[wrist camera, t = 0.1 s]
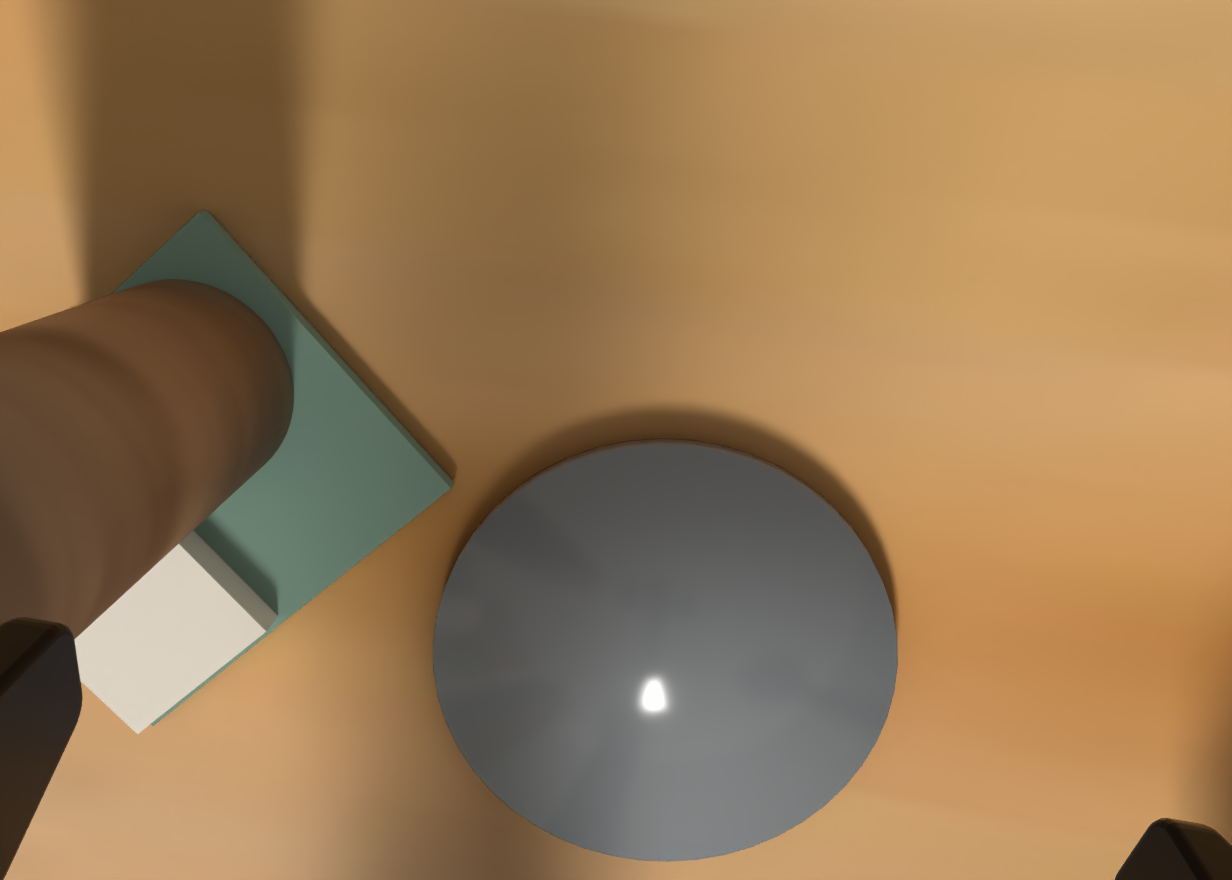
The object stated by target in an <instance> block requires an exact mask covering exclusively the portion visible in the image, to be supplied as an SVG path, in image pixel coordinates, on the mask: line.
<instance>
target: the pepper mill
mask: <svg viewBox="0 0 1232 880" xmlns="http://www.w3.org/2000/svg"><path fill="white" fill-rule="evenodd" d="M293 406H294V388H293V380H292V375H291V370H290V367H289V364H288V361H287V358H286V356H285V353H284V351H283V349H282V347H281V345H280V343H279V342H278V340H277V338H276V337H275V335H274V334H273V332H272V331H271V329H270V328H269V327H268V326H267V325H266V323H265V322H264V321H263V320H262V319H261V318H260V317H259V316H258V315H257V314H256V313H255V312H254V311H253V310H252V309H251V308H249V307H248V306H247V305H246V304H244V303H243V302H242V301H240V300H239V299H237V298H235V297H234V296H232V295H230V294H229V293H227V292H225V291H222V290H220V289H218V288H216V287H213V286H210V285H207V284H203V283H200V282H195V281H189V280H179V279H167V280H156V281H152V282H148V283H144V284H140V285H137V286H134V287H132V288H129V289H126V290H123V291H120V292H117V293H114V294H111V295H108V296H105V297H102V298H99V299H96V300H94V301H91V302H88V303H85V304H82V305H79V306H76V307H73V308H70V309H67V310H64V311H61V312H58V313H56V314H53V315H50V316H47V317H44V318H41V319H38V320H35V321H32V322H29V323H26V324H23V325H21V326H18V327H15V328H12V329H9V330H6V331H3V332H0V624H2V623H4V622H6V621H8V620H10V619H13V618H17V617H28V618H34V619H39V620H45V621H51V622H56V623H62V624H64V625H66V626H68V627H69V629H70V630H71V631H72V633H73V636H74V640H75V639H76V638H77V637H78V636H79V635H80V634H81V633H82V632H83V631H84V630H85V629H86V628H88V627H89V626H90V625H91V624H92V623H93V622H94V621H95V620H96V619H97V618H98V617H100V616H101V615H102V614H103V613H104V612H105V611H106V610H107V609H108V608H109V607H110V606H111V605H113V604H114V603H115V602H116V601H117V600H118V599H119V598H120V597H121V596H122V595H123V594H125V593H126V592H127V591H128V590H129V589H130V588H131V587H132V586H133V585H134V584H135V583H136V582H138V581H139V580H140V579H141V578H142V577H143V576H144V575H145V574H146V573H147V572H148V571H150V570H151V569H152V568H153V567H154V566H155V565H156V564H157V563H158V562H159V561H160V560H161V559H163V558H164V557H165V556H166V555H167V554H168V553H169V552H170V551H171V550H172V549H173V548H175V547H176V546H177V545H178V544H179V543H180V542H181V541H182V540H183V539H184V538H185V537H186V536H188V535H189V534H190V533H191V532H192V531H193V530H194V529H195V528H196V527H197V526H198V525H200V524H201V523H202V522H203V521H204V520H205V519H206V518H207V517H208V516H209V515H210V514H211V513H213V512H214V511H215V510H216V509H217V508H218V507H219V506H220V505H221V504H222V503H223V502H225V501H226V500H227V499H228V498H229V497H230V496H231V495H232V494H233V493H234V492H235V491H236V490H238V489H239V488H240V487H241V486H242V485H243V484H244V483H245V482H246V481H247V480H248V479H250V478H251V477H252V476H253V475H254V474H255V473H256V472H257V471H258V470H259V469H260V468H261V467H263V466H264V465H265V464H266V463H267V462H268V461H269V460H270V459H271V458H272V457H273V455H274V454H275V453H276V451H277V450H278V449H279V447H280V446H281V444H282V442H283V440H284V438H285V437H286V434H287V431H288V429H289V426H290V423H291V418H292V414H293Z"/></svg>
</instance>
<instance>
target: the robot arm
mask: <svg viewBox="0 0 1232 880" xmlns="http://www.w3.org/2000/svg"><path fill="white" fill-rule="evenodd" d="M81 707H82V688H81V681H80V675H79V668H78V661H77V654H76V647H75V640H74V636H73V633H72V631H71V630H70V629H69V627H68V626H66V625H64V624H62V623H56V622H51V621H45V620H39V619H34V618H28V617H17V618H13V619H10V620H8V621H6V622H4V623H2V624H0V880H4V878H5V876H6V874H7V872H8V870H9V867H10V865H11V863H12V861H13V859H14V857H15V855H16V852H17V850H18V848H19V846H20V844H21V842H22V840H23V838H24V835H25V833H26V831H27V829H28V827H29V825H30V823H31V820H32V818H33V816H34V814H35V812H36V810H37V808H38V806H39V803H40V801H41V799H42V797H43V795H44V793H45V791H46V788H47V786H48V784H49V782H50V780H51V778H52V776H53V774H54V771H55V769H56V767H57V765H58V763H59V761H60V759H61V756H62V754H63V752H64V750H65V748H66V746H67V744H68V742H69V739H70V737H71V735H72V733H73V731H74V729H75V726H76V724H77V722H78V718H79V715H80V711H81ZM1115 880H1232V846H1231V845H1230V844H1229V843H1228V842H1227V841H1226V840H1225V839H1224V838H1223V837H1222V836H1221V835H1220V834H1219V833H1218V832H1217V831H1215V830H1214V829H1212V828H1211V827H1208V826H1206V825H1203V824H1198V823H1193V822H1187V821H1181V820H1175V819H1170V818H1161V819H1159V820H1157V821H1155V822H1153V823H1152V824H1151V825H1150V826H1149V827H1148V829H1147V830H1146V832H1145V833H1144V835H1143V836H1142V838H1141V839H1140V841H1139V842H1138V843H1137V845H1136V846H1135V848H1134V849H1133V851H1132V852H1131V854H1130V855H1129V857H1128V858H1127V860H1126V861H1125V863H1124V864H1123V866H1122V867H1121V869H1120V870H1119V872H1118V873H1117V875H1116V878H1115Z"/></svg>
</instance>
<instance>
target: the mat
mask: <svg viewBox="0 0 1232 880" xmlns="http://www.w3.org/2000/svg"><path fill="white" fill-rule="evenodd" d="M167 279H179V280H189V281H195V282H200V283H203V284H207V285H210V286H213V287H216V288H218V289H220V290H222V291H225V292H227V293H229V294H230V295H232V296H234V297H235V298H237V299H239V300H240V301H242V302H243V303H244V304H246V305H247V306H248V307H249V308H251V309H252V310H253V311H254V312H255V313H256V314H257V315H258V316H259V317H260V318H261V319H262V320H263V321H264V322H265V323H266V325H267V326H268V327H269V328H270V329H271V331H272V332H273V334H274V335H275V337H276V338H277V340H278V342H279V343H280V345H281V347H282V349H283V351H284V353H285V356H286V358H287V361H288V364H289V367H290V370H291V375H292V380H293V388H294V406H293V414H292V418H291V423H290V426H289V429H288V431H287V434H286V437H285V438H284V440H283V442H282V444H281V446H280V447H279V449H278V450H277V451H276V453H275V454H274V455H273V457H272V458H271V459H270V460H269V461H268V462H267V463H266V464H265V465H264V466H263V467H261V468H260V469H259V470H258V471H257V472H256V473H255V474H254V475H253V476H252V477H251V478H250V479H248V480H247V481H246V482H245V483H244V484H243V485H242V486H241V487H240V488H239V489H238V490H236V491H235V492H234V493H233V494H232V495H231V496H230V497H229V498H228V499H227V500H226V501H225V502H223V503H222V504H221V505H220V506H219V507H218V508H217V509H216V510H215V511H214V512H213V513H211V514H210V515H209V516H208V517H207V518H206V519H205V520H204V521H203V522H202V523H201V524H200V525H198V526H197V527H196V528H195V529H194V530H193V531H192V532H191V533H190V534H189V535H188V536H186V537H185V538H184V539H183V540H182V541H181V542H180V543H179V544H178V545H177V546H176V547H175V548H173V549H172V550H171V551H170V552H169V553H168V554H167V555H166V556H165V557H164V558H163V559H161V560H160V561H159V562H158V563H157V564H156V565H155V566H154V567H153V568H152V569H151V570H150V571H148V572H147V573H146V574H145V575H144V576H143V577H142V578H141V579H140V580H139V581H138V582H136V583H135V584H134V585H133V586H132V587H131V588H130V589H129V590H128V591H127V592H126V593H125V594H123V595H122V596H121V597H120V598H119V599H118V600H117V601H116V602H115V603H114V604H113V605H111V606H110V607H109V608H108V609H107V610H106V611H105V612H104V613H103V614H102V615H101V616H100V617H98V618H97V619H96V620H95V621H94V622H93V623H92V624H91V625H90V626H89V627H88V628H86V629H85V630H84V631H83V632H82V633H81V634H80V635H79V636H78V637H77V638H76V639H75V647H76V654H77V661H78V668H79V675H80V681H81V682H82V683H84V684H85V685H86V686H87V687H88V688H89V689H90V690H91V691H92V692H93V693H94V694H95V695H96V696H97V697H98V698H100V699H101V700H102V701H103V702H104V703H105V704H106V705H107V706H108V707H109V708H110V709H111V710H112V711H113V712H114V713H115V714H117V715H118V716H119V717H120V718H121V719H122V720H123V721H124V722H125V723H126V724H127V725H128V726H129V727H130V728H131V729H133V730H134V731H135V732H136V733H137V734H139V733H140V732H141V731H142V730H144V729H145V728H146V727H147V726H149V725H150V724H151V725H152V726H154V725H155V724H156V723H157V722H159V721H160V720H161V719H162V718H164V717H165V716H166V715H167V714H169V713H170V712H171V711H172V710H174V709H175V708H176V707H177V706H179V705H180V704H181V703H182V702H184V701H185V700H186V699H187V698H189V697H190V696H191V695H192V694H194V693H195V692H196V691H198V690H199V689H200V688H201V687H203V686H204V685H205V684H206V683H208V682H209V681H210V680H211V679H213V678H214V677H215V676H216V675H218V674H219V673H220V672H221V671H223V670H224V669H225V668H226V667H228V666H229V665H230V664H231V663H233V662H234V661H235V660H236V659H238V658H239V657H240V656H241V655H243V654H244V653H245V652H246V651H248V650H249V649H250V648H251V647H253V646H254V645H255V644H257V643H258V642H259V641H260V640H262V639H263V638H264V637H265V636H267V635H268V634H269V633H270V632H272V631H273V630H274V629H275V628H277V627H278V626H279V625H280V624H282V623H283V622H284V621H285V620H287V619H288V618H289V617H290V616H292V615H293V614H294V613H295V612H297V611H298V610H299V609H300V608H302V607H303V606H304V605H305V604H307V603H308V602H309V601H310V600H312V599H313V598H314V597H316V596H317V595H318V594H319V593H321V592H322V591H323V590H324V589H326V588H327V587H328V586H329V585H331V584H332V583H333V582H334V581H336V580H337V579H338V578H339V577H341V576H342V575H343V574H344V573H346V572H347V571H348V570H349V569H351V568H352V567H353V566H354V565H356V564H357V563H358V562H359V561H361V560H362V559H363V558H364V557H366V556H367V555H368V554H369V553H371V552H372V551H373V550H374V549H376V548H377V547H378V546H380V545H381V544H382V543H383V542H385V541H386V540H387V539H388V538H390V537H391V536H392V535H393V534H395V533H396V532H397V531H398V530H400V529H401V528H402V527H403V526H405V525H406V524H407V523H408V522H410V521H411V520H412V519H413V518H415V517H416V516H417V515H418V514H420V513H421V512H422V511H423V510H425V509H426V508H427V507H428V506H430V505H431V504H432V503H433V502H435V501H436V500H437V499H439V498H440V497H441V496H442V495H444V494H445V493H446V492H447V491H449V490H450V489H451V488H452V486H453V484H454V482H453V481H452V480H451V479H450V477H449V476H448V475H447V474H446V473H445V472H444V471H443V470H442V469H441V468H440V466H439V465H438V464H437V463H436V462H435V461H434V460H433V459H432V458H431V456H430V455H429V454H428V453H427V452H426V451H425V450H424V449H423V448H422V447H421V445H420V444H419V443H418V442H417V441H416V440H415V439H414V438H413V437H412V436H411V434H410V433H409V432H408V431H407V430H406V429H405V428H404V427H403V426H402V425H401V423H400V422H399V421H398V420H397V419H396V418H395V417H394V416H393V415H392V413H391V412H390V411H389V410H388V409H387V408H386V407H385V406H384V405H383V404H382V402H381V401H380V400H379V399H378V398H377V397H376V396H375V395H374V394H373V393H372V391H371V390H370V389H369V388H368V387H367V386H366V385H365V384H364V383H363V382H362V380H361V379H360V378H359V377H358V376H357V375H356V374H355V373H354V372H353V370H352V369H351V368H350V367H349V366H348V365H347V364H346V363H345V362H344V361H343V359H342V358H341V357H340V356H339V355H338V354H337V353H336V352H335V351H334V350H333V348H332V347H331V346H330V345H329V344H328V343H327V342H326V341H325V340H324V339H323V337H322V336H321V335H320V334H319V333H318V332H317V331H316V330H315V329H314V327H313V326H312V325H311V324H310V323H309V322H308V321H307V320H306V319H305V318H304V316H303V315H302V314H301V313H300V312H299V311H298V310H297V309H296V308H295V307H294V305H293V304H292V303H291V302H290V301H289V300H288V299H287V298H286V297H285V296H284V294H283V293H282V292H281V291H280V290H279V289H278V288H277V287H276V286H275V284H274V283H273V282H272V281H271V280H270V279H269V278H268V277H267V276H266V275H265V273H264V272H263V271H262V270H261V269H260V268H259V267H258V266H257V265H256V264H255V262H254V261H253V260H252V259H251V258H250V257H249V256H248V255H247V254H246V253H245V251H244V250H243V249H242V248H241V247H240V246H239V245H238V244H237V243H236V241H235V240H234V239H233V238H232V237H231V236H230V235H229V234H228V233H227V232H226V230H225V229H224V228H223V227H222V226H221V225H220V224H219V223H218V222H217V221H216V219H215V218H214V217H213V216H212V215H211V214H210V213H209V212H208V211H207V210H204V211H200V212H198V213H197V214H196V215H195V216H194V217H193V218H192V219H191V220H190V221H189V222H188V223H187V224H185V225H184V226H183V227H182V228H181V229H180V230H179V231H178V232H177V233H176V234H175V235H174V236H173V237H172V238H170V239H169V240H168V241H167V242H166V243H165V244H164V245H163V246H162V247H161V248H160V249H159V250H158V251H157V252H156V253H154V254H153V255H152V256H151V257H150V258H149V259H148V260H147V261H146V262H145V263H144V264H143V265H142V266H141V267H139V268H138V269H137V270H136V271H135V272H134V273H133V274H132V275H131V276H130V277H129V278H128V279H127V280H126V281H125V282H123V283H122V284H121V285H120V286H119V287H118V288H117V289H116V290H115V291H114V292H113V293H112V294H114V293H117V292H120V291H123V290H126V289H129V288H132V287H134V286H137V285H140V284H144V283H148V282H152V281H156V280H167Z"/></svg>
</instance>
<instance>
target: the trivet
mask: <svg viewBox="0 0 1232 880" xmlns="http://www.w3.org/2000/svg"><path fill="white" fill-rule="evenodd" d="M897 666H898V657H897V634H896V628H895V622H894V616H893V611H892V607H891V604H890V601H889V598H888V595H887V592H886V589H885V586H884V583H883V581H882V579H881V577H880V575H879V573H878V571H877V569H876V567H875V565H874V563H873V561H872V559H871V557H870V555H869V553H868V551H867V549H866V547H865V545H864V544H863V543H862V541H861V540H860V538H859V537H858V535H857V534H856V533H855V531H854V530H853V528H852V527H851V525H850V524H849V523H848V522H847V521H846V520H845V518H844V517H843V516H842V515H841V514H840V513H839V512H838V511H837V510H836V509H835V508H834V507H833V506H832V504H831V503H830V502H829V501H827V500H826V499H825V498H824V497H823V496H821V495H820V494H819V493H818V492H816V491H815V490H814V489H813V488H811V487H810V486H809V485H808V484H807V483H805V482H804V481H802V480H800V479H799V478H797V477H795V476H794V475H792V474H791V473H789V472H787V471H786V470H784V469H782V468H781V467H779V466H777V465H774V464H772V463H770V462H768V461H765V460H763V459H761V458H759V457H756V456H754V455H752V454H749V453H746V452H742V451H739V450H736V449H732V448H729V447H726V446H722V445H717V444H711V443H705V442H699V441H693V440H677V439H650V440H638V441H627V442H622V443H617V444H613V445H608V446H603V447H599V448H595V449H592V450H589V451H586V452H583V453H581V454H578V455H575V456H572V457H569V458H567V459H565V460H563V461H561V462H559V463H557V464H555V465H553V466H551V467H549V468H547V469H545V470H543V471H541V472H539V473H537V474H536V475H535V476H533V477H532V478H530V479H529V480H527V481H526V482H524V483H523V484H521V485H520V486H518V487H517V488H515V489H514V490H513V491H512V492H511V493H510V494H509V495H508V496H506V497H505V498H504V499H503V500H502V501H501V502H500V503H499V504H497V505H496V506H495V507H494V508H493V509H492V510H491V512H490V513H489V514H488V515H487V516H486V517H485V519H484V520H483V521H482V522H481V523H480V525H479V526H478V527H477V528H476V529H475V530H474V532H473V534H472V535H471V537H470V538H469V540H468V542H467V543H466V545H465V546H464V548H463V550H462V551H461V553H460V554H459V557H458V559H457V561H456V563H455V566H454V568H453V570H452V572H451V575H450V577H449V579H448V582H447V584H446V586H445V589H444V591H443V595H442V598H441V602H440V606H439V609H438V613H437V616H436V624H435V632H434V640H433V669H434V677H435V683H436V688H437V694H438V699H439V702H440V705H441V708H442V711H443V715H444V718H445V721H446V724H447V726H448V728H449V730H450V732H451V734H452V736H453V738H454V740H455V742H456V744H457V747H458V748H459V750H460V751H461V753H462V754H463V756H464V757H465V759H466V760H467V762H468V763H469V765H470V766H471V768H472V770H473V771H474V772H475V773H476V774H477V775H478V776H479V778H480V779H481V780H482V781H483V782H484V783H485V785H486V786H487V787H488V788H489V789H490V790H491V791H492V792H493V793H494V794H495V795H496V796H497V797H498V798H500V799H501V800H502V801H503V802H504V803H505V804H506V805H507V806H508V807H509V808H511V809H512V810H513V811H515V812H516V813H518V814H519V815H521V816H522V817H523V818H525V819H526V820H528V821H529V822H530V823H532V824H533V825H535V826H537V827H539V828H541V829H543V830H544V831H546V832H548V833H550V834H552V835H554V836H556V837H557V838H560V839H562V840H565V841H567V842H570V843H572V844H575V845H577V846H580V847H582V848H585V849H589V850H592V851H596V852H600V853H603V854H607V855H611V856H616V857H623V858H629V859H635V860H646V861H667V862H668V861H685V860H698V859H704V858H710V857H715V856H721V855H726V854H729V853H733V852H736V851H740V850H743V849H746V848H750V847H753V846H755V845H758V844H760V843H762V842H765V841H767V840H770V839H772V838H774V837H777V836H779V835H780V834H782V833H784V832H786V831H788V830H789V829H791V828H793V827H795V826H796V825H798V824H800V823H802V822H803V821H805V820H806V819H807V818H809V817H810V816H811V815H813V814H814V813H815V812H817V811H818V810H820V809H821V808H822V807H824V806H825V805H826V804H827V803H828V802H829V801H830V800H831V799H832V798H833V797H834V796H835V795H837V794H838V793H839V792H840V791H841V790H842V789H843V788H844V787H845V786H846V785H847V783H848V782H849V781H850V780H851V778H852V777H853V776H854V775H855V773H856V772H857V771H858V770H859V769H860V767H861V766H862V765H863V763H864V761H865V760H866V758H867V756H868V755H869V753H870V752H871V750H872V748H873V747H874V745H875V743H876V742H877V739H878V737H879V735H880V732H881V730H882V728H883V726H884V723H885V721H886V719H887V716H888V712H889V709H890V705H891V701H892V698H893V694H894V690H895V682H896V674H897Z"/></svg>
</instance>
